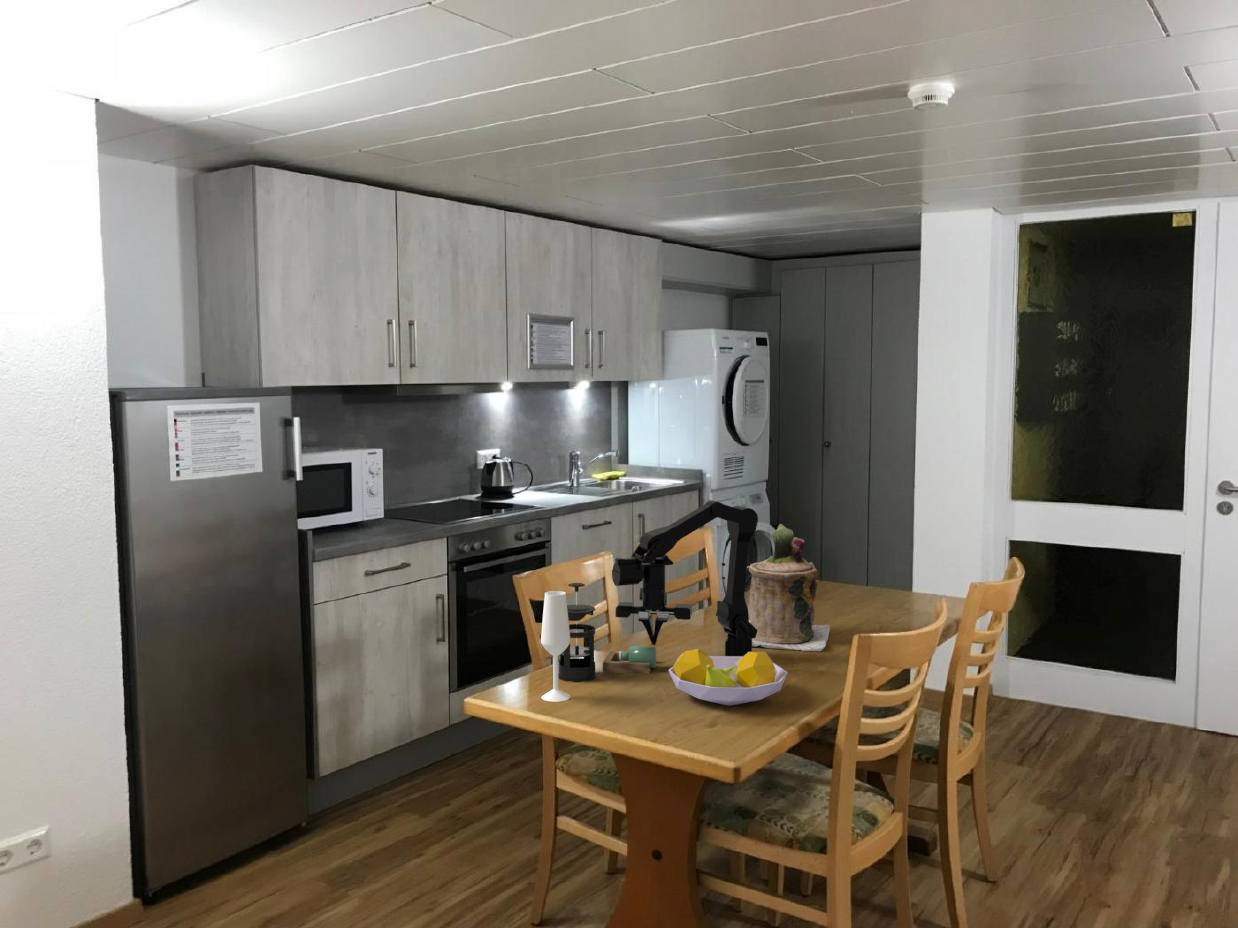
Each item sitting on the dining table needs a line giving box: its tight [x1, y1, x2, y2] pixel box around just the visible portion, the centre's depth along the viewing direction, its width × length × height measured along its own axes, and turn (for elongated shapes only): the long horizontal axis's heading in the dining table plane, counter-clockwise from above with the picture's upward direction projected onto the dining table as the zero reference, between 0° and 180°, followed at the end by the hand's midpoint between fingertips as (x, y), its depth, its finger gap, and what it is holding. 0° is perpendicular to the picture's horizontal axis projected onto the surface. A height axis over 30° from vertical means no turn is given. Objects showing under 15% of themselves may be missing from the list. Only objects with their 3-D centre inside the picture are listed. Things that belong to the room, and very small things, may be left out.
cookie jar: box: [747, 523, 831, 653], centre depth 280 cm, size 25×25×32 cm
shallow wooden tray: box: [602, 650, 652, 675], centre depth 253 cm, size 12×11×2 cm
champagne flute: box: [540, 590, 571, 703], centre depth 228 cm, size 7×7×24 cm
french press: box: [558, 582, 597, 683], centre depth 244 cm, size 12×9×23 cm
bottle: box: [619, 645, 657, 669], centre depth 252 cm, size 5×5×9 cm
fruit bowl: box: [668, 648, 789, 707], centre depth 228 cm, size 28×27×11 cm
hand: (653, 644), depth 252 cm, fingers closed
